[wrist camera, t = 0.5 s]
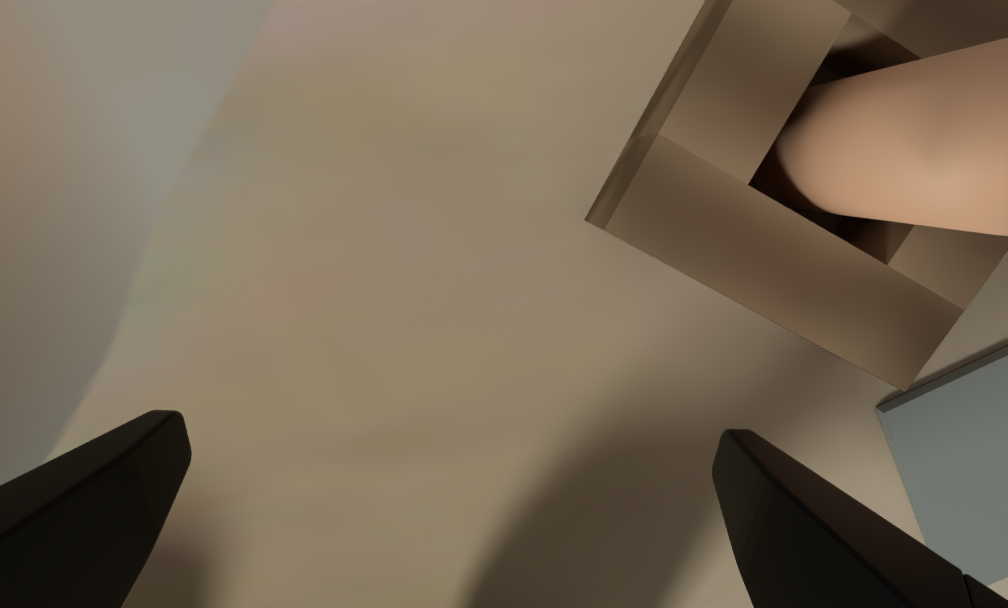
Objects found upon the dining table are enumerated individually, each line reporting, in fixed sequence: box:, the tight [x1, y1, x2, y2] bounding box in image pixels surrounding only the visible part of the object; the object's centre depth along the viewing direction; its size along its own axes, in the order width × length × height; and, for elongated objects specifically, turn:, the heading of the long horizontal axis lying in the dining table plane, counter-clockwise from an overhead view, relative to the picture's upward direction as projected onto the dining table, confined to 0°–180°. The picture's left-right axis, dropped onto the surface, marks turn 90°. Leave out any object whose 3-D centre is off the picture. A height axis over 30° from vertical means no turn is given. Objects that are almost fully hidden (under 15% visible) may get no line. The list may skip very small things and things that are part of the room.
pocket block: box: [585, 0, 1008, 392], centre depth 22 cm, size 14×14×4 cm
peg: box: [753, 38, 1008, 236], centre depth 19 cm, size 5×5×10 cm
